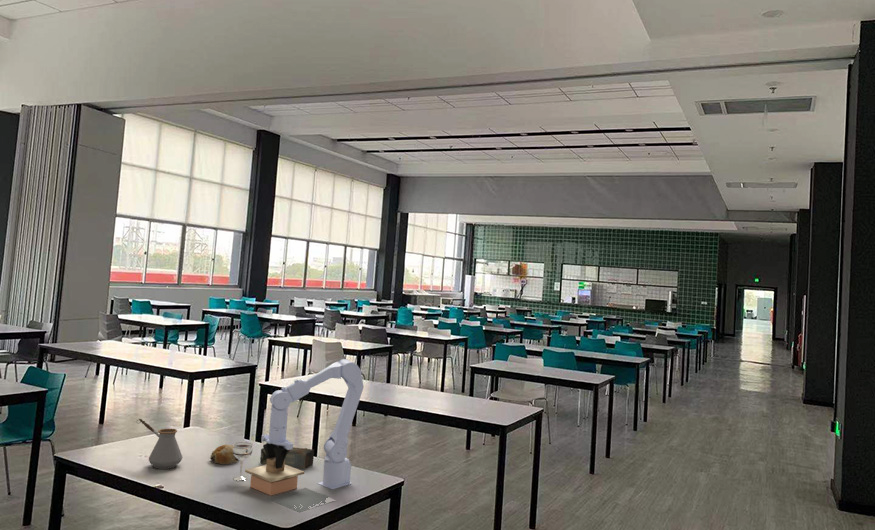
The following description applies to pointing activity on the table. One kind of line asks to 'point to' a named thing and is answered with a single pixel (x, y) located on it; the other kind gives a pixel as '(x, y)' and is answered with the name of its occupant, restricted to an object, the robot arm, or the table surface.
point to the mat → (300, 499)
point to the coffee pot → (164, 448)
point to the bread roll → (223, 455)
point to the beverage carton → (294, 458)
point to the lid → (274, 471)
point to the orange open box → (273, 485)
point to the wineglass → (242, 455)
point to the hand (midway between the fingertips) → (275, 466)
